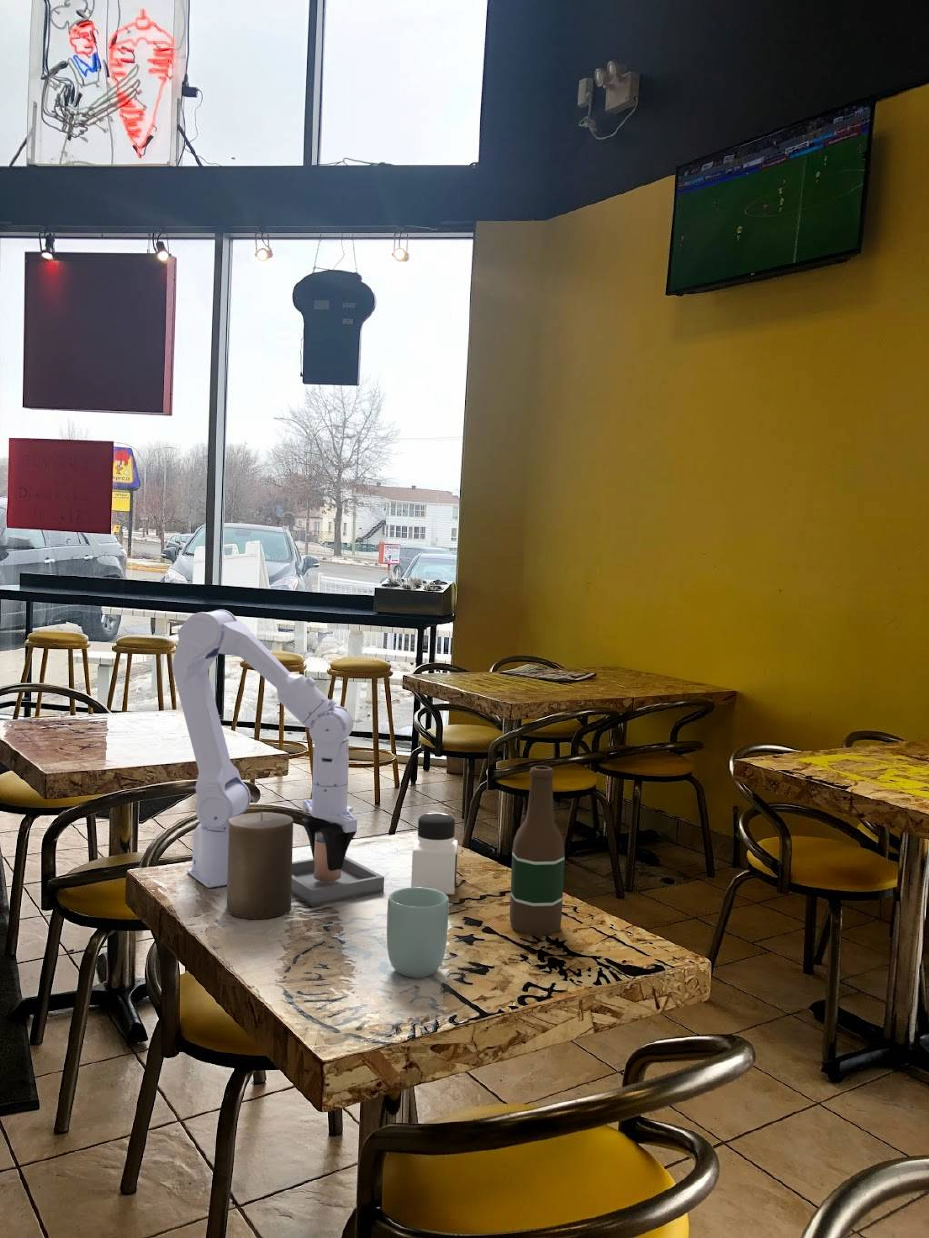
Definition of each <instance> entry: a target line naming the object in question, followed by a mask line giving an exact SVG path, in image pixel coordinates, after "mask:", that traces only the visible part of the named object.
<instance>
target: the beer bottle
mask: <svg viewBox="0 0 929 1238" xmlns="http://www.w3.org/2000/svg"><path fill="white" fill-rule="evenodd" d="M529 775H530V782H529V783H530V784H529V793H528V800H527V802H528V803H527V811H526V813H525V814H526V815H525V819H524V821H523V823H522V824H521V825H520V826H519V828H517V831H516V834H515V836H514V838H513V842H512V843H513V844H512V850H511V851H512V853H511V870H510V871H511V872H510V873H511V874H510V875H511V876H510V897H509V922H510V925H511V926H512V928H513V929H514V931H515V932H518V933H522V934H525V935H528V936H533V937H534V936H551V935H552V934H554V933H555V932H557V931H559V930H560V929H561V926H562V925H561V924H562V917H563V901H564V900H563V899H564V896H563V895H564V876H565V874H564V873H565V857H566V856H565V842H564V839H563V835H562V833H561V831H560V830H559V828H558V826H557V824H556V823H555V817H554V816H555V815H554V792H553V788H554V786H553V785H554V783H553V780H554V779H553V778H554V777H555V770H554V769H553V768H552V767H550V766H547V765H534V766H533V767H530V770H529Z"/></svg>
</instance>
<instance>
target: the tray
mask: <svg viewBox="0 0 929 1238" xmlns="http://www.w3.org/2000/svg"><path fill="white" fill-rule="evenodd" d="M384 892H385V876H383V875H381V874H380V873H378V872H376V871H374V870H372V869H370V868H368V867H366V866H365V865H363V864H361V863H359V862H357V861H356V860H353V859H352V858H350V857H348V856H346V855H345V858H344V862H343V865H342V869H341V878H340V879H338V880H335V881H319V880H316V879H315V878H314V860H313V858H309V859H303V860H298V861H297V860H296V861H292V892H291V895H293V896H295V897H296V898H297V899H299V900H301V901H302V902H304V903H305V904H307V905H308V906H310V907H316V906H321V905H326V904H331V903H337V902H341V901H346V900H351V899H356V898H360V897H366V896H371V895H375V894H382V893H384Z"/></svg>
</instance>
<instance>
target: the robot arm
mask: <svg viewBox="0 0 929 1238" xmlns="http://www.w3.org/2000/svg"><path fill="white" fill-rule="evenodd" d="M177 637H178V640H177V645H176V649H175V653H174V657H173V660H172V673H173V677H174V682H175V686H176V689H177V693H178V697H179V699H180V700H179V701H180V704H181V709H182V712H183V716H184V721H185V724H186V727H187V731H188V735H189V738H190V739H189V740H190V744H191V747H192V750H193V751H192V752H193V755H194V758H195V762H196V765H197V767H196V768H197V770H198V776H197V779H196V784H195V787H194V788H195V792H196V803H195V815H196V818H197V820H198V822H199V823H198V824H197V826H196V828H195V829H194V832H193V835H192V866H191V868H187V869H186V872H187V873H188V874H189V875H191V877H193V878H194V879H196V880H197V881H199V882H200V883H201V884H203V886H205V887H206V888H216V887H222V886H227V871H228V868H227V865H228V841H229V819H230V818H233V817H235V816H238V815H242V814H245V813H244V812H246V811H247V810H248V808H249V807H250V804H251V801H252V799H251V798H252V796H251V795H252V794H251V791H250V789H249V787H248V786H247V784H245V783H244V781H243V780H242V778H241V775H240V771H239V769H238V768H237V767H236V766H235V765H234V764H233V763H232V761H231V758H230V754H229V750H228V746H227V741H226V738H225V734H224V731H223V726H222V723H221V718H220V716H219V712H218V711H219V710H218V707H217V703H216V699H215V696H214V692H213V687H212V684H211V680H210V676H209V675H210V674H209V669H210V668H211V666H212V664H213V663H214V662H215V660H216V659H217V657H218V656H219V654H221V655H227V656H235V657H239V658H240V659H242V660H243V661H244V662H245V663H247V665H249V666H250V667H251V668H253V670H254V671H256V672H257V673H258V674H260V676H262V677H263V678H264V679H265V680H266V681H267V682H268V683H270V684H271V685H272V686H273V687H274V688H275V689H276V691H277V692H276V693H277V701H278V702H279V703H280V704H281V705H282V706H283V707H285V709H287V710H288V712H290V714H291V715H293V716H294V717H295V718H296V719H297V721H299V722H300V723H301V724H302V725H303V726H305V728H309V729H308V732H309V735H310V738H311V740H312V742H313V744H314V745H313V747H314V748H313V755H312V758H313V759H312V786H311V799H303V801H302V812H303V813H308V814H309V816H308V817H304V818H302V819H301V824H302V826H303V828H304V829H305V832H306V834H307V837H308V841H309V845H310V850H311V855H312V859H313V860H314V851H315V831H316V830H317V829H321V832H322V835H323V837H324V840H325V845H326V851H327V865H328V869H329V870H330V871H333V870H339V869H342V865H343V862H344V858H345V856H346V854H347V851H348V849H349V846H350V844H351V841H352V839H353V838H354V836H355V835H356V834H357V831H358V819H357V818H355V816H353V814H352V813H353V812H354V808H353V807H352V806H350V805H348V796H349V795H348V791H349V788H348V787H349V764H350V763H349V762H350V759H349V758H350V754H349V744H350V743H349V742H350V741H349V739H348V738H349V736H350V734H351V733H352V731H353V727H354V726H353V725H354V721H353V718H352V715H351V714H350V713H349V711H348V710H347V708H346V707H344V706H341V705H337V702H336V700H334V699H333V698H331V699H329V698H328V697H327V696H326V695H325V694H324V693H323V692H322V691H321V690H320V689H319V688H318V687H316V685H315V684H316V682H317V681H316V680H315V679H314V678H313V677H311V676H309V677H306V676H305V675H304V674H293V673H291V672H290V671H289V670H288V669H287V668H286V667H285V666H284V665H283V663H282V662H280V661H279V659H278V658H277V657H276V656H275V655H274V654H273V653H272V652H271V651H270V650H269V649H268V648H267V647H266V646H265V645H264V643H262V642H261V641H260V640H259V638H257V637H256V635H255V634H254V633H253V632H252V630H250V628H249V627H248V626H247V625H246V624H245V622H242V621H241V620H238V619H237V617H236V616H235V615H234V614H233V613H232V612H230V611H228V610H227V609H226V610H225V609H216V610H213V611H208V612H205V611H200V612H196V613H193V614H191V615H190V616H188V618H187V619H186V620H185V621H184V622H183V624H182V625H181V626H180V627H179V629H178V630H177Z"/></svg>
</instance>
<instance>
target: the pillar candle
mask: <svg viewBox="0 0 929 1238" xmlns="http://www.w3.org/2000/svg"><path fill="white" fill-rule="evenodd" d="M293 838H294V819H293V817H292V816H291V815H287V814H284V813H283V814H282V813H277V812H263V811H260V812H251V813H249V812H248V813H244V814H242V815H238V816H235V817H233V818H230V819H229V841H228V865H227V868H228V871H227V885H226V911H227V913H229V915H232V916H235V917H238V918H243V919H246V920H247V919H250V920H265V919H272V918H275V917H281V916H283V915H286V914H287V913H289V912H290V910H291V909H292V893H291V892H292V862H293V846H294V845H293V843H294V842H293V841H294V839H293Z"/></svg>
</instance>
